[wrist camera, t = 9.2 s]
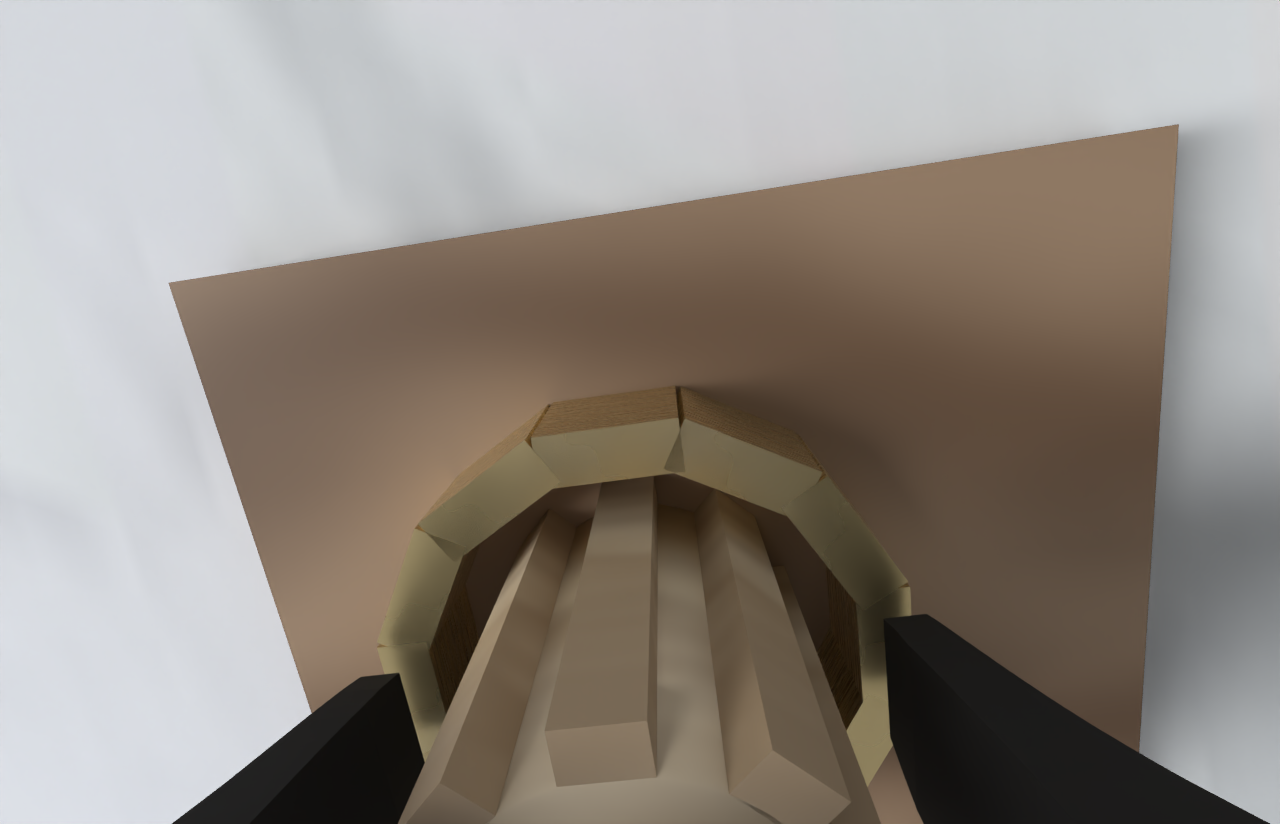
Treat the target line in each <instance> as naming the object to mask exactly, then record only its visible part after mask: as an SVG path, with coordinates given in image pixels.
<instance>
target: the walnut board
mask: <svg viewBox="0 0 1280 824" xmlns="http://www.w3.org/2000/svg"><path fill="white" fill-rule="evenodd" d="M1178 127H1179V124H1178V125H1172V126H1165V127H1159V128H1153V129H1146V130H1140V131H1133V132H1127V133H1121V134H1114V135H1108V136H1102V137H1095V138H1089V139H1082V140H1076V141H1070V142H1063V143H1057V144H1051V145H1044V146H1038V147H1031V148H1025V149H1019V150H1012V151H1006V152H1000V153H993V154H987V155H980V156H974V157H968V158H961V159H955V160H949V161H942V162H936V163H929V164H923V165H917V166H910V167H904V168H898V169H891V170H885V171H878V172H872V173H866V174H859V175H853V176H847V177H840V178H834V179H827V180H821V181H815V182H808V183H802V184H796V185H789V186H783V187H776V188H770V189H764V190H757V191H751V192H745V193H738V194H732V195H725V196H719V197H713V198H706V199H700V200H694V201H687V202H681V203H674V204H668V205H662V206H655V207H649V208H643V209H636V210H630V211H623V212H617V213H611V214H604V215H598V216H592V217H585V218H579V219H572V220H566V221H560V222H553V223H547V224H541V225H534V226H528V227H521V228H515V229H509V230H502V231H496V232H490V233H483V234H477V235H470V236H464V237H458V238H451V239H445V240H439V241H432V242H426V243H419V244H413V245H407V246H400V247H394V248H388V249H381V250H375V251H368V252H362V253H356V254H349V255H343V256H337V257H330V258H324V259H318V260H311V261H305V262H298V263H292V264H286V265H279V266H273V267H267V268H260V269H254V270H247V271H241V272H235V273H228V274H222V275H216V276H209V277H203V278H196V279H190V280H184V281H177V282H171V283H169V286H170V289H171V292H172V295H173V298H174V301H175V304H176V307H177V310H178V313H179V316H180V319H181V322H182V325H183V328H184V331H185V334H186V337H187V340H188V343H189V346H190V349H191V352H192V355H193V358H194V361H195V364H196V367H197V370H198V373H199V376H200V379H201V382H202V385H203V388H204V391H205V394H206V397H207V400H208V403H209V406H210V409H211V412H212V415H213V418H214V421H215V424H216V427H217V430H218V433H219V436H220V439H221V442H222V445H223V448H224V451H225V454H226V457H227V460H228V463H229V466H230V469H231V472H232V475H233V478H234V481H235V484H236V487H237V490H238V493H239V496H240V499H241V502H242V505H243V508H244V511H245V514H246V517H247V520H248V523H249V526H250V529H251V532H252V535H253V538H254V541H255V544H256V547H257V550H258V553H259V556H260V559H261V562H262V565H263V568H264V571H265V574H266V577H267V580H268V583H269V586H270V589H271V592H272V595H273V598H274V601H275V604H276V607H277V610H278V613H279V616H280V619H281V622H282V625H283V628H284V631H285V634H286V637H287V640H288V643H289V646H290V649H291V652H292V655H293V658H294V661H295V664H296V667H297V670H298V673H299V676H300V679H301V682H302V685H303V688H304V691H305V694H306V697H307V700H308V703H309V706H310V709H311V712H312V713H313V712H314V711H316V710H317V709H318V708H319V707H321V706H322V705H323V704H324V703H326V702H327V701H328V700H330V699H331V698H332V697H333V696H335V695H336V694H337V693H339V692H340V691H341V690H343V689H344V688H345V687H347V686H348V685H350V684H351V683H352V682H354V681H355V680H357V679H358V678H360V677H364V676H373V675H382V674H384V670H383V667H382V663H381V660H380V657H379V653H378V650H377V647H378V646H379V643H377V641H378V638H379V635H380V632H381V629H382V626H383V623H384V620H385V617H386V614H387V611H388V608H389V604H390V601H391V598H392V595H393V592H394V589H395V586H396V583H397V580H398V577H399V574H400V571H401V568H402V565H403V562H404V559H405V556H406V553H407V549H408V546H409V543H410V540H411V537H412V534H413V531H414V528H415V527H416V526H417V525H418V523H419V522H420V520H421V519H422V518H423V517H424V516H425V514H426V513H427V512H428V511H429V510H430V508H431V507H432V506H433V505H434V504H435V502H436V501H437V500H438V499H439V498H440V496H441V495H442V494H443V493H444V492H445V490H446V489H447V488H448V487H449V486H450V484H451V483H452V482H453V481H454V480H455V479H456V477H457V476H458V475H459V474H460V473H462V472H463V471H464V470H465V469H467V468H468V467H469V466H471V465H472V464H473V463H474V462H476V461H477V460H478V459H479V458H481V457H482V456H483V455H485V454H486V453H487V452H488V451H490V450H491V449H492V448H493V447H495V446H496V445H497V444H498V443H500V442H501V441H502V440H504V439H505V438H506V437H507V436H509V435H510V434H511V433H512V432H514V431H515V430H516V429H517V428H519V427H520V426H521V425H523V424H524V423H525V422H526V421H528V420H529V419H530V418H531V417H533V416H534V415H535V414H537V413H538V412H539V411H540V410H542V409H543V408H544V407H545V406H547V405H549V406H551V405H552V403H553V402H559V401H566V400H574V399H581V398H588V397H595V396H603V395H610V394H617V393H624V392H631V391H639V390H646V389H653V388H660V387H668V386H675V390H676V396H677V393H678V391H679V388H680V386H681V387H684V388H686V389H689V390H691V391H694V392H697V393H699V394H702V395H704V396H707V397H709V398H712V399H714V400H717V401H719V402H722V403H725V404H727V405H730V406H732V407H735V408H737V409H740V410H742V411H745V412H747V413H750V414H752V415H755V416H758V417H760V418H763V419H765V420H768V421H770V422H773V423H775V424H778V425H780V426H783V427H786V428H788V429H791V430H793V431H795V433H796V434H797V435H798V434H799V436H800V437H801V438H802V440H803V441H804V442H805V443H806V445H807V446H808V447H809V449H810V450H811V451H812V453H813V454H814V455H815V457H816V458H817V459H818V460H819V462H820V463H821V464H822V466H823V467H824V468H825V470H826V471H827V472H828V474H829V475H830V476H831V477H832V479H833V480H834V481H835V483H836V484H837V485H838V487H839V488H840V489H841V491H842V492H843V493H844V495H845V496H846V497H847V498H848V500H849V501H850V502H851V504H852V505H853V506H854V508H855V509H856V510H857V512H858V513H859V514H860V515H861V517H862V518H863V519H864V521H865V522H866V523H867V525H868V526H869V528H870V529H871V530H872V532H873V533H874V535H875V536H876V537H877V539H878V540H879V541H880V543H881V544H882V546H883V547H884V548H885V550H886V551H887V553H888V554H889V555H890V557H891V558H892V560H893V561H894V562H895V564H896V565H897V567H898V568H899V569H900V571H901V572H902V574H903V575H904V576H905V578H906V579H907V580H908V582H907V583H908V584H909V586H910V593H911V615H920V614H928V615H930V616H931V617H933V618H934V619H936V620H937V621H939V622H940V623H942V624H943V625H944V626H946V627H947V628H949V629H950V630H952V631H953V632H954V633H956V634H957V635H959V636H960V637H962V638H963V639H964V640H966V641H967V642H969V643H970V644H972V645H973V646H974V647H976V648H977V649H979V650H980V651H982V652H983V653H984V654H986V655H987V656H989V657H990V658H992V659H993V660H995V661H996V662H997V663H999V664H1000V665H1002V666H1003V667H1005V668H1006V669H1008V670H1009V671H1010V672H1012V673H1013V674H1015V675H1016V676H1018V677H1019V678H1021V679H1022V680H1024V681H1025V682H1027V683H1028V684H1030V685H1031V686H1033V687H1034V688H1036V689H1037V690H1039V691H1040V692H1042V693H1043V694H1045V695H1046V696H1048V697H1049V698H1051V699H1052V700H1054V701H1056V702H1057V703H1059V704H1060V705H1062V706H1063V707H1065V708H1066V709H1068V710H1070V711H1071V712H1073V713H1074V714H1076V715H1077V716H1079V717H1081V718H1082V719H1084V720H1085V721H1087V722H1089V723H1090V724H1092V725H1093V726H1095V727H1097V728H1098V729H1100V730H1102V731H1103V732H1105V733H1107V734H1108V735H1110V736H1112V737H1113V738H1115V739H1117V740H1118V741H1120V742H1122V743H1123V744H1125V745H1127V746H1128V747H1130V748H1132V749H1133V750H1135V751H1137V752H1139V742H1140V726H1141V711H1142V695H1143V679H1144V663H1145V648H1146V632H1147V616H1148V600H1149V584H1150V569H1151V553H1152V537H1153V521H1154V506H1155V490H1156V474H1157V458H1158V442H1159V427H1160V411H1161V395H1162V379H1163V364H1164V348H1165V332H1166V316H1167V301H1168V285H1169V269H1170V253H1171V237H1172V222H1173V206H1174V190H1175V174H1176V159H1177V143H1178ZM654 481H655V487H656V494H657V501H658V504H662V505H667V506H673V507H678V508H681V509H684V510H687V511H690V512H693V513H694V512H695V511H696V510H697V509H698V507H699V506H700V505H701V504H702V503H703V501H704V500H705V499H706V498H707V497H708V496H709V494H710V493H711V492H712V491H713V490H714V488H712V487H709V486H707V485H704V484H701V483H699V482H696V481H694V480H691V479H688V478H686V477H683V476H680V475H678V474H675V473H671V474H663V475H655V476H654ZM601 484H602V482H601V483H593V484H586V485H578V486H570V487H562V488H555V489H551V490H550V491H549V492H547V493H546V494H545V495H543V496H542V497H541V498H539V499H538V500H537V501H536V502H534V503H533V504H532V505H530V506H529V507H528V508H526V509H525V510H524V511H522V512H521V513H520V514H518V515H517V516H516V517H514V518H513V519H512V520H510V521H509V522H508V523H506V524H505V525H504V526H502V527H501V528H500V529H498V530H497V531H496V532H494V533H493V534H492V535H490V536H489V537H488V538H486V539H485V540H484V541H482V542H481V544H480V547H479V549H478V552H477V555H476V558H475V561H474V563H473V566H472V569H471V572H470V574H469V577H468V580H467V583H466V587H467V591H468V595H469V600H470V604H471V608H472V612H473V616H474V620H475V624H476V628H477V632H478V636H479V640H480V637H481V635H482V633H483V631H484V628H485V626H486V624H487V622H488V619H489V617H490V615H491V613H492V610H493V608H494V606H495V604H496V601H497V599H498V597H499V595H500V592H501V590H502V588H503V586H504V583H505V581H506V579H507V577H508V574H509V572H510V570H511V568H512V565H513V563H514V561H515V559H516V556H517V554H518V552H519V550H520V547H521V545H522V544H523V542H524V541H525V540H526V538H527V537H528V536H529V535H530V533H531V532H532V531H533V529H534V528H535V527H536V525H537V524H538V523H539V522H540V520H541V519H542V518H543V516H544V515H545V514H546V512H547V511H548V510H549V509H551V510H552V511H554V512H555V513H557V514H558V515H560V516H561V517H563V518H564V519H566V520H567V521H569V522H570V523H571V524H573V525H574V526H576V527H578V526H579V525H581V524H582V523H584V522H585V521H587V520H589V519H590V518H592V517H594V514H595V510H596V506H597V501H598V497H599V493H600V488H601ZM719 491H720V490H719ZM720 492H721V493H723V494H724V495H726V496H727V497H728V498H730V499H731V500H733V501H734V502H735V503H737V504H738V505H739V506H741V507H742V508H744V509H745V510H746V511H748V512H749V513H751V514H752V515H753V516H755V519H756V522H757V525H758V528H759V531H760V534H761V536H762V539H763V542H764V545H765V548H766V551H767V554H768V557H769V560H770V563H771V566H772V567H777V566H784V567H785V570H786V572H787V575H788V578H789V580H790V583H791V586H792V588H793V591H794V594H795V596H796V599H797V602H798V604H799V607H800V609H801V612H802V615H803V617H804V620H805V623H806V625H807V628H808V631H809V633H810V636H811V639H812V641H813V644H814V647H815V649H816V652H817V651H818V649H819V647H820V645H821V644H822V642H823V640H824V638H825V636H826V635H827V633H828V631H829V629H830V616H829V604H828V591H827V579H826V567H825V563H824V562H823V560H822V559H821V558H820V557H819V555H818V554H817V553H816V552H815V550H814V549H813V548H812V547H811V545H810V544H809V543H808V541H807V540H806V539H805V538H804V536H803V535H802V534H801V533H800V531H799V530H798V529H797V528H796V526H795V525H794V524H793V523H792V521H791V520H790V519H789V518H788V516H785V515H782V514H780V513H777V512H775V511H772V510H769V509H767V508H764V507H761V506H759V505H756V504H754V503H751V502H748V501H746V500H743V499H741V498H738V497H735V496H733V495H730V494H727V493H725V492H722V491H720ZM868 790H869V793H870V795H871V798H872V801H873V803H874V806H875V809H876V811H877V814H878V817H879V819H880V822H881V824H923V822H922V819H921V817H920V815H919V813H918V811H917V809H916V806H915V803H914V801H913V798H912V796H911V793H910V790H909V788H908V785H907V782H906V780H905V777H904V774H903V771H902V769H901V766H900V763H899V760H898V757H897V755H896V752H895V749H894V746H892V748H891V749H890V751H889V753H888V754H887V756H886V757H885V759H884V761H883V762H882V764H881V766H880V767H879V769H878V770H877V772H876V774H875V775H874V777H873V779H872V780H871V782H870V784H869V785H868Z"/></svg>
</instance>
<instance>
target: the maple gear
mask: <svg viewBox="0 0 1280 824" xmlns="http://www.w3.org/2000/svg"><path fill="white" fill-rule="evenodd" d="M398 824H881V822H880V819H879V817H878V814H877V811H876V809H875V806H874V803H873V801H872V798H871V795H870V793H869V790H868V787H867V785H866V782H865V779H864V777H863V774H862V771H861V769H860V766H859V763H858V761H857V758H856V755H855V753H854V750H853V748H852V745H851V742H850V740H849V737H848V734H847V732H846V729H845V726H844V724H843V721H842V718H841V716H840V713H839V710H838V708H837V705H836V702H835V700H834V697H833V694H832V692H831V689H830V686H829V684H828V681H827V678H826V676H825V673H824V671H823V668H822V665H821V663H820V660H819V657H818V655H817V652H816V649H815V647H814V644H813V641H812V639H811V636H810V633H809V631H808V628H807V625H806V623H805V620H804V617H803V615H802V612H801V609H800V607H799V604H798V602H797V599H796V596H795V594H794V591H793V588H792V586H791V583H790V580H789V578H788V575H787V572H786V570H785V567H784V566H777V567H772V566H771V563H770V560H769V557H768V554H767V551H766V548H765V545H764V542H763V539H762V536H761V534H760V531H759V528H758V525H757V522H756V519H755V516H753V515H752V514H751V513H749V512H748V511H746V510H745V509H744V508H742V507H741V506H739V505H738V504H737V503H735V502H734V501H733V500H731V499H730V498H728V497H727V496H726V495H724V494H723V493H721V492H720V491H719V490H717V489H714V490H713V491H712V492H711V493H710V494H709V496H708V497H707V498H706V499H705V500H704V501H703V503H702V504H701V505H700V506H699V507H698V509H697V510H696V511H695V512H694V513H693V512H690V511H687V510H684V509H681V508H678V507H673V506H667V505H662V504H658V501H657V494H656V487H655V481H654V476H648V477H640V478H632V479H624V480H617V481H609V482H602V484H601V488H600V493H599V497H598V501H597V506H596V510H595V514H594V517H592V518H590V519H589V520H587V521H585V522H584V523H582V524H581V525H579V526H578V527H576V526H574V525H573V524H571V523H570V522H569V521H567V520H566V519H564V518H563V517H561V516H560V515H558V514H557V513H555V512H554V511H552V510H551V509H549V510H548V511H547V512H546V514H545V515H544V516H543V518H542V519H541V520H540V522H539V523H538V524H537V525H536V527H535V528H534V529H533V531H532V532H531V533H530V535H529V536H528V537H527V538H526V540H525V541H524V542H523V544H522V545H521V547H520V550H519V552H518V554H517V556H516V559H515V561H514V563H513V565H512V568H511V570H510V572H509V574H508V577H507V579H506V581H505V583H504V586H503V588H502V590H501V592H500V595H499V597H498V599H497V601H496V604H495V606H494V608H493V610H492V613H491V615H490V617H489V619H488V622H487V624H486V626H485V628H484V631H483V633H482V635H481V637H480V640H479V642H478V644H477V646H476V649H475V651H474V653H473V655H472V658H471V660H470V662H469V664H468V667H467V669H466V671H465V673H464V676H463V678H462V680H461V682H460V685H459V687H458V689H457V692H456V694H455V696H454V698H453V701H452V703H451V705H450V707H449V710H448V712H447V714H446V716H445V719H444V721H443V723H442V725H441V728H440V730H439V732H438V734H437V737H436V739H435V741H434V743H433V746H432V748H431V750H430V752H429V755H428V757H427V759H426V761H425V764H424V766H423V768H422V770H421V773H420V775H419V777H418V779H417V782H416V784H415V786H414V788H413V791H412V793H411V795H410V797H409V800H408V802H407V804H406V806H405V809H404V811H403V813H402V815H401V818H400V820H399V822H398Z"/></svg>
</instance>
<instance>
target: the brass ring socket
mask: <svg viewBox="0 0 1280 824" xmlns="http://www.w3.org/2000/svg"><path fill="white" fill-rule="evenodd" d="M671 473H675V474H678V475H680V476H683V477H686V478H688V479H691V480H694V481H696V482H699V483H701V484H704V485H707V486H709V487H712V488H714V489H717V490H720V491H722V492H725V493H727V494H730V495H733V496H735V497H738V498H741V499H743V500H746V501H748V502H751V503H754V504H756V505H759V506H761V507H764V508H767V509H769V510H772V511H775V512H777V513H780V514H782V515H785V516H788V518H789V519H790V520H791V521H792V523H793V524H794V525H795V526H796V528H797V529H798V530H799V531H800V533H801V534H802V535H803V536H804V538H805V539H806V540H807V541H808V543H809V544H810V545H811V547H812V548H813V549H814V550H815V552H816V553H817V554H818V555H819V557H820V558H821V559H822V560H823V562H824V563H825V567H826V579H827V591H828V604H829V616H830V629H829V631H828V633H827V635H826V636H825V638H824V640H823V642H822V644H821V645H820V647H819V649H818V651H817V655H818V657H819V660H820V663H821V665H822V668H823V671H824V673H825V676H826V678H827V681H828V684H829V686H830V689H831V692H832V694H833V697H834V700H835V702H836V705H837V708H838V710H839V713H840V716H841V718H842V721H843V724H844V726H845V729H846V732H847V734H848V737H849V740H850V742H851V745H852V748H853V750H854V753H855V755H856V758H857V761H858V763H859V766H860V769H861V771H862V774H863V777H864V779H865V782H866V785H867V787H868V785H869V784H870V782H871V780H872V779H873V777H874V775H875V774H876V772H877V770H878V769H879V767H880V766H881V764H882V762H883V761H884V759H885V757H886V756H887V754H888V753H889V751H890V749H891V748H892V746H893V744H892V741H891V738H890V725H889V708H888V691H887V673H886V656H885V638H884V621H883V619H884V618H893V617H902V616H911V593H910V586H909V584H908V583H907V582H908V580H907V579H906V578H905V576H904V575H903V574H902V572H901V571H900V569H899V568H898V567H897V565H896V564H895V562H894V561H893V560H892V558H891V557H890V555H889V554H888V553H887V551H886V550H885V548H884V547H883V546H882V544H881V543H880V541H879V540H878V539H877V537H876V536H875V535H874V533H873V532H872V530H871V529H870V528H869V526H868V525H867V523H866V522H865V521H864V519H863V518H862V517H861V515H860V514H859V513H858V512H857V510H856V509H855V508H854V506H853V505H852V504H851V502H850V501H849V500H848V498H847V497H846V496H845V495H844V493H843V492H842V491H841V489H840V488H839V487H838V485H837V484H836V483H835V481H834V480H833V479H832V477H831V476H830V475H829V474H828V472H827V471H826V470H825V468H824V467H823V466H822V464H821V463H820V462H819V460H818V459H817V458H816V457H815V455H814V454H813V453H812V451H811V450H810V449H809V447H808V446H807V445H806V443H805V442H804V441H803V440H802V438H801V437H800V436H799V434H798V435H797V434H796V433H795V431H793V430H791V429H788V428H786V427H783V426H780V425H778V424H775V423H773V422H770V421H768V420H765V419H763V418H760V417H758V416H755V415H752V414H750V413H747V412H745V411H742V410H740V409H737V408H735V407H732V406H730V405H727V404H725V403H722V402H719V401H717V400H714V399H712V398H709V397H707V396H704V395H702V394H699V393H697V392H694V391H691V390H689V389H686V388H684V387H681V386H680V388H679V391H678V393H677V396H676V390H675V386H668V387H660V388H653V389H646V390H639V391H631V392H624V393H617V394H610V395H603V396H595V397H588V398H581V399H574V400H566V401H559V402H553V403H552V405H551V406H549V405H547V406H545V407H544V408H543V409H542V410H540V411H539V412H538V413H537V414H535V415H534V416H533V417H531V418H530V419H529V420H528V421H526V422H525V423H524V424H523V425H521V426H520V427H519V428H517V429H516V430H515V431H514V432H512V433H511V434H510V435H509V436H507V437H506V438H505V439H504V440H502V441H501V442H500V443H498V444H497V445H496V446H495V447H493V448H492V449H491V450H490V451H488V452H487V453H486V454H485V455H483V456H482V457H481V458H479V459H478V460H477V461H476V462H474V463H473V464H472V465H471V466H469V467H468V468H467V469H465V470H464V471H463V472H462V473H460V474H459V475H458V476H457V477H456V479H455V480H454V481H453V482H452V483H451V484H450V486H449V487H448V488H447V489H446V490H445V492H444V493H443V494H442V495H441V496H440V498H439V499H438V500H437V501H436V502H435V504H434V505H433V506H432V507H431V508H430V510H429V511H428V512H427V513H426V514H425V516H424V517H423V518H422V519H421V520H420V522H419V523H418V525H417V526H416V527H415V528H414V531H413V534H412V537H411V540H410V543H409V546H408V549H407V553H406V556H405V559H404V562H403V565H402V568H401V571H400V574H399V577H398V580H397V583H396V586H395V589H394V592H393V595H392V598H391V601H390V604H389V608H388V611H387V614H386V617H385V620H384V623H383V626H382V629H381V632H380V635H379V638H378V641H377V643H379V646H378V647H377V650H378V653H379V657H380V660H381V663H382V667H383V670H384V674H391V673H399V674H400V677H401V681H402V684H403V688H404V691H405V695H406V698H407V702H408V705H409V709H410V712H411V716H412V719H413V723H414V726H415V730H416V733H417V737H418V740H419V744H420V747H421V751H422V754H423V758H424V761H426V759H427V757H428V755H429V752H430V750H431V748H432V746H433V743H434V741H435V739H436V737H437V734H438V732H439V730H440V728H441V725H442V723H443V721H444V719H445V716H446V714H447V712H448V710H449V707H450V705H451V703H452V701H453V698H454V696H455V694H456V692H457V689H458V687H459V685H460V682H461V680H462V678H463V676H464V673H465V671H466V669H467V667H468V664H469V662H470V660H471V658H472V655H473V653H474V651H475V649H476V646H477V644H478V642H479V636H478V632H477V628H476V624H475V620H474V616H473V612H472V608H471V604H470V600H469V595H468V591H467V587H466V583H467V580H468V577H469V574H470V572H471V569H472V566H473V563H474V561H475V558H476V555H477V552H478V549H479V547H480V544H481V542H482V541H484V540H485V539H486V538H488V537H489V536H490V535H492V534H493V533H494V532H496V531H497V530H498V529H500V528H501V527H502V526H504V525H505V524H506V523H508V522H509V521H510V520H512V519H513V518H514V517H516V516H517V515H518V514H520V513H521V512H522V511H524V510H525V509H526V508H528V507H529V506H530V505H532V504H533V503H534V502H536V501H537V500H538V499H539V498H541V497H542V496H543V495H545V494H546V493H547V492H549V491H550V490H551V489H555V488H562V487H570V486H578V485H586V484H593V483H601V482H609V481H617V480H624V479H632V478H640V477H648V476H655V475H663V474H671Z"/></svg>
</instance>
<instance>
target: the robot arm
mask: <svg viewBox="0 0 1280 824" xmlns="http://www.w3.org/2000/svg"><path fill="white" fill-rule="evenodd" d="M883 621H884V638H885V656H886V673H887V691H888V708H889V725H890V738H891V741H892V744H893V746H894V749H895V752H896V755H897V757H898V760H899V763H900V766H901V769H902V771H903V774H904V777H905V780H906V782H907V785H908V788H909V790H910V793H911V796H912V798H913V801H914V803H915V806H916V809H917V811H918V813H919V815H920V817H921V819H922V822H923V824H1270V823H1268V822H1266V821H1264V820H1262V819H1260V818H1258V817H1256V816H1254V815H1252V814H1250V813H1248V812H1247V811H1245V810H1243V809H1241V808H1239V807H1237V806H1235V805H1233V804H1231V803H1229V802H1228V801H1226V800H1224V799H1222V798H1220V797H1218V796H1216V795H1214V794H1212V793H1210V792H1208V791H1207V790H1205V789H1203V788H1201V787H1199V786H1197V785H1195V784H1193V783H1191V782H1189V781H1188V780H1186V779H1184V778H1182V777H1180V776H1179V775H1177V774H1175V773H1173V772H1171V771H1170V770H1168V769H1166V768H1164V767H1163V766H1161V765H1159V764H1157V763H1155V762H1154V761H1152V760H1150V759H1149V758H1147V757H1145V756H1144V755H1142V754H1140V753H1139V752H1137V751H1135V750H1133V749H1132V748H1130V747H1128V746H1127V745H1125V744H1123V743H1122V742H1120V741H1118V740H1117V739H1115V738H1113V737H1112V736H1110V735H1108V734H1107V733H1105V732H1103V731H1102V730H1100V729H1098V728H1097V727H1095V726H1093V725H1092V724H1090V723H1089V722H1087V721H1085V720H1084V719H1082V718H1081V717H1079V716H1077V715H1076V714H1074V713H1073V712H1071V711H1070V710H1068V709H1066V708H1065V707H1063V706H1062V705H1060V704H1059V703H1057V702H1056V701H1054V700H1052V699H1051V698H1049V697H1048V696H1046V695H1045V694H1043V693H1042V692H1040V691H1039V690H1037V689H1036V688H1034V687H1033V686H1031V685H1030V684H1028V683H1027V682H1025V681H1024V680H1022V679H1021V678H1019V677H1018V676H1016V675H1015V674H1013V673H1012V672H1010V671H1009V670H1008V669H1006V668H1005V667H1003V666H1002V665H1000V664H999V663H997V662H996V661H995V660H993V659H992V658H990V657H989V656H987V655H986V654H984V653H983V652H982V651H980V650H979V649H977V648H976V647H974V646H973V645H972V644H970V643H969V642H967V641H966V640H964V639H963V638H962V637H960V636H959V635H957V634H956V633H954V632H953V631H952V630H950V629H949V628H947V627H946V626H944V625H943V624H942V623H940V622H939V621H937V620H936V619H934V618H933V617H931V616H930V615H928V614H920V615H911V616H902V617H893V618H884V619H883ZM424 764H425V761H424V758H423V754H422V751H421V747H420V744H419V740H418V737H417V733H416V730H415V726H414V723H413V719H412V716H411V712H410V709H409V705H408V702H407V698H406V695H405V691H404V688H403V684H402V681H401V677H400V674H399V673H391V674H382V675H373V676H364V677H360V678H358V679H357V680H355V681H354V682H352V683H351V684H350V685H348V686H347V687H345V688H344V689H343V690H341V691H340V692H339V693H337V694H336V695H335V696H333V697H332V698H331V699H330V700H328V701H327V702H326V703H324V704H323V705H322V706H321V707H319V708H318V709H317V710H316V711H314V712H313V713H312V714H311V715H309V716H308V717H307V718H306V719H304V720H303V721H302V722H301V723H299V724H298V725H297V726H296V727H294V728H293V729H292V730H291V731H289V732H288V733H287V734H286V735H285V736H283V737H282V738H281V739H280V740H278V741H277V742H276V743H275V744H273V745H272V746H271V747H270V748H268V749H267V750H266V751H265V752H263V753H262V754H261V755H260V756H258V757H257V758H256V759H255V760H253V761H252V762H251V763H250V764H248V765H247V766H246V767H245V768H243V769H242V770H241V771H240V772H239V773H237V774H236V775H235V776H234V777H232V778H231V779H230V780H229V781H227V782H226V783H225V784H223V785H222V786H221V787H220V788H218V789H217V790H216V791H214V792H213V793H212V794H210V795H209V796H208V797H206V798H205V799H204V800H202V801H201V802H200V803H198V804H197V805H196V806H195V807H193V808H192V809H191V810H189V811H188V812H187V813H185V814H184V815H183V816H181V817H180V818H179V819H177V820H176V821H175V822H173V823H172V824H398V822H399V820H400V818H401V815H402V813H403V811H404V809H405V806H406V804H407V802H408V800H409V797H410V795H411V793H412V791H413V788H414V786H415V784H416V782H417V779H418V777H419V775H420V773H421V770H422V768H423V766H424Z"/></svg>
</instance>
